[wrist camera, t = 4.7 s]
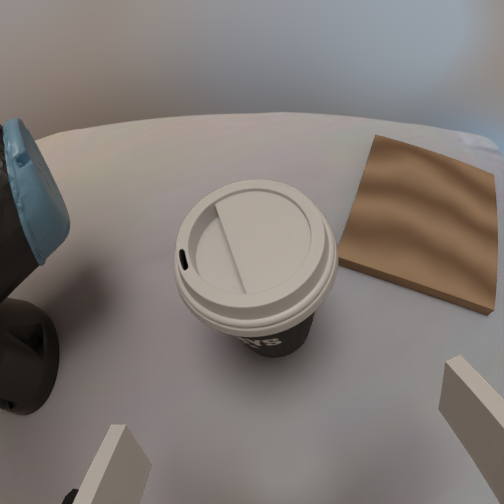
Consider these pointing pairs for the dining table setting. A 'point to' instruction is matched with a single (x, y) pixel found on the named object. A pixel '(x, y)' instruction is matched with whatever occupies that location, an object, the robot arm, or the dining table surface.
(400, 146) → the wooden board
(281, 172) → the dining table surface
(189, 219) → the coffee cup
